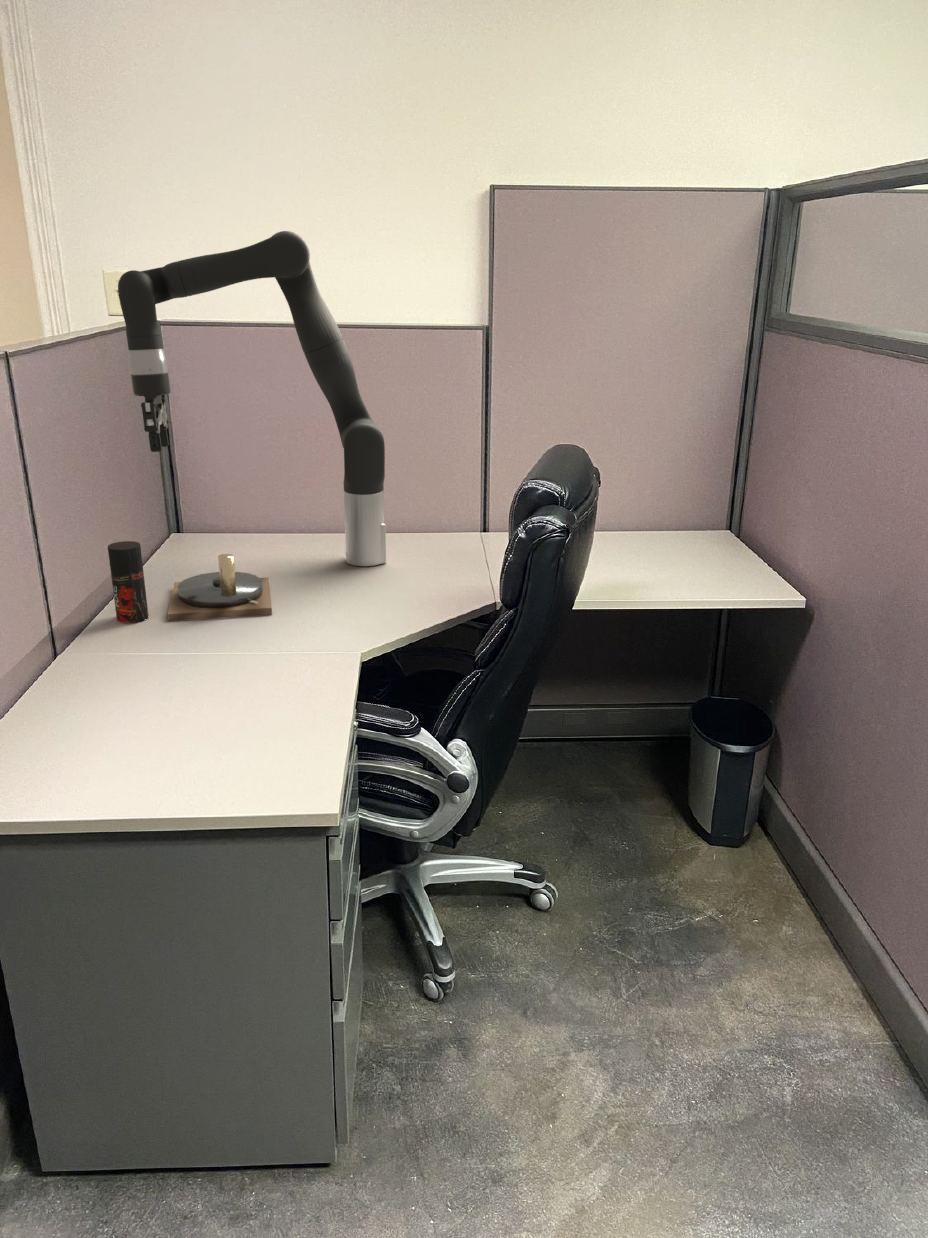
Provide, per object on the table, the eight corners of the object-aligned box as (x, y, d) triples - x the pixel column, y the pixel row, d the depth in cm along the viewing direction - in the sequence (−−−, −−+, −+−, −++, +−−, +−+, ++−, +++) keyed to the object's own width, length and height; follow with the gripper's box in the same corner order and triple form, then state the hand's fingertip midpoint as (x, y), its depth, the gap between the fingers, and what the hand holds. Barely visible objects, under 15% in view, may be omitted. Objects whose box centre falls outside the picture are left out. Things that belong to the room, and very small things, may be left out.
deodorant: (155, 616, 183) (146, 543, 177) (133, 625, 178) (124, 551, 172) (132, 611, 185) (123, 539, 180) (110, 620, 180) (100, 547, 175)
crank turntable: (277, 585, 196) (274, 540, 193) (236, 611, 181) (232, 562, 177) (207, 576, 201) (203, 532, 197) (161, 601, 185) (156, 554, 182)
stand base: (269, 583, 203) (268, 575, 202) (272, 614, 184) (271, 606, 184) (175, 588, 198) (174, 580, 198) (168, 621, 180) (167, 612, 180)
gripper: (161, 372, 187) (172, 452, 192) (173, 369, 201) (182, 443, 206) (123, 374, 186) (135, 454, 191) (137, 370, 200) (148, 445, 205)
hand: (160, 448), depth 199 cm, fingers open, 8 cm apart
